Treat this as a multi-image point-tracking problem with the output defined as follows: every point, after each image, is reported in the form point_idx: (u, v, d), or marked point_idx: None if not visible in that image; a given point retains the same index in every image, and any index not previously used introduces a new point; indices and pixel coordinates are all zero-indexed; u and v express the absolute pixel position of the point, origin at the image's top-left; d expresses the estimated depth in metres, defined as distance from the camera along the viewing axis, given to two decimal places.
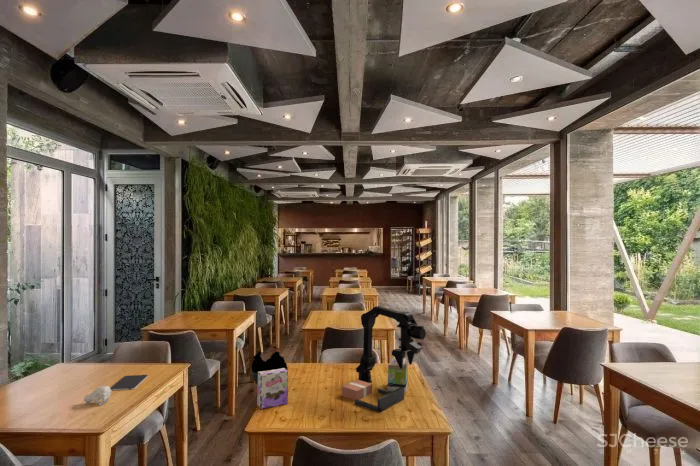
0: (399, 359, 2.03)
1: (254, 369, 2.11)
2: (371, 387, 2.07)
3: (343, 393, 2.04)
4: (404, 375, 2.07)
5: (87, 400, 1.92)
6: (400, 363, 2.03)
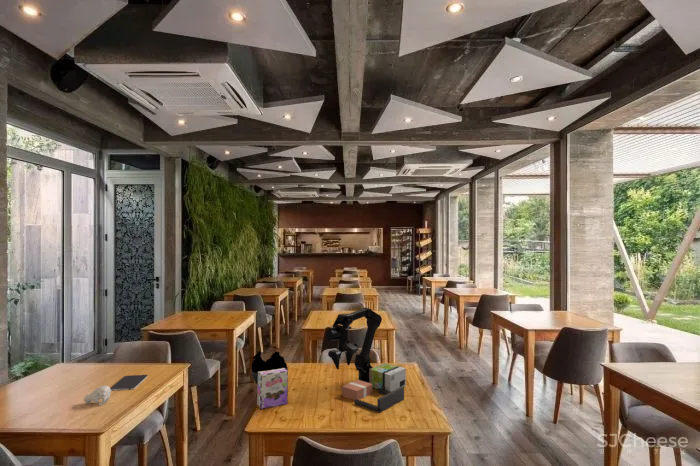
0: (335, 360, 2.09)
1: (254, 369, 2.11)
2: (371, 387, 2.07)
3: (343, 393, 2.04)
4: (375, 372, 2.14)
5: (87, 400, 1.92)
6: (336, 364, 2.09)
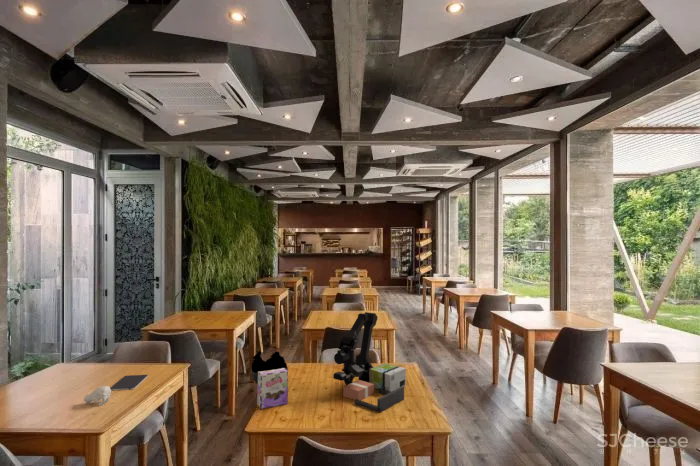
0: (346, 380, 2.09)
1: (254, 369, 2.11)
2: (372, 387, 2.07)
3: (344, 393, 2.03)
4: (375, 372, 2.14)
5: (87, 400, 1.92)
6: (347, 384, 2.09)
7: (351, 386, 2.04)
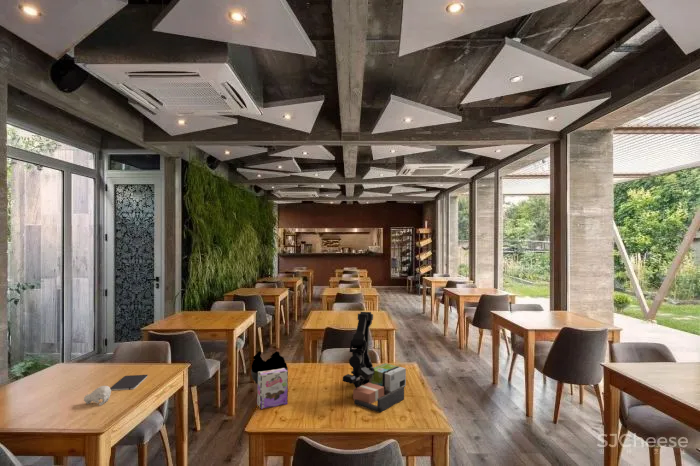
0: (356, 383, 2.05)
1: (254, 369, 2.11)
2: (383, 390, 2.03)
3: (354, 396, 1.99)
4: (375, 372, 2.14)
5: (87, 400, 1.92)
6: (357, 387, 2.05)
7: (361, 389, 2.00)
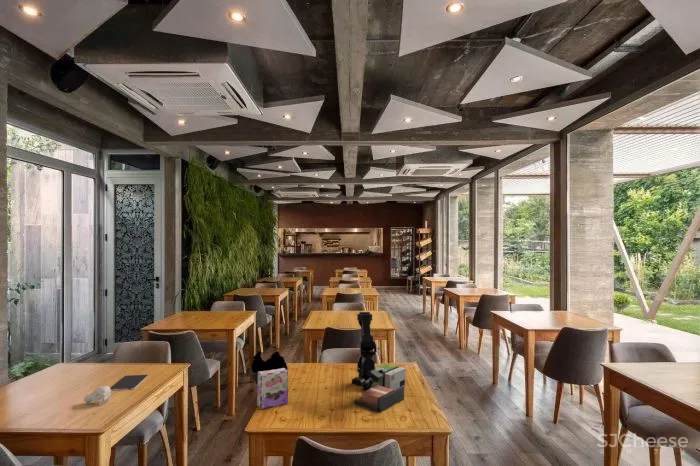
0: (365, 385, 2.01)
1: (254, 369, 2.11)
2: None
3: (363, 399, 1.95)
4: None
5: (87, 400, 1.92)
6: (366, 389, 2.01)
7: (370, 392, 1.96)
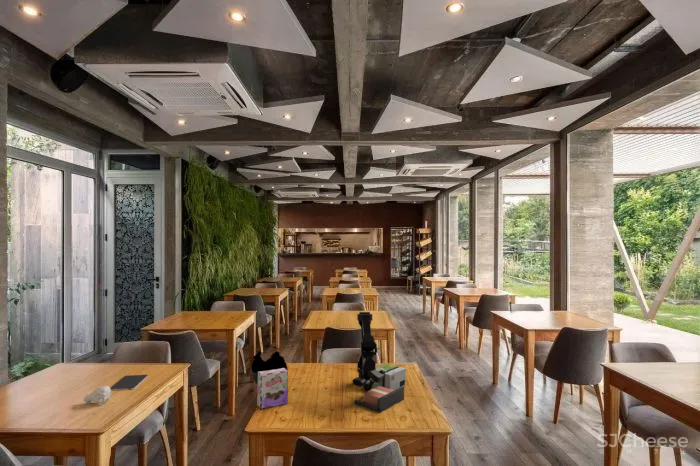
0: (365, 386, 2.01)
1: (254, 369, 2.11)
2: None
3: (365, 400, 1.95)
4: None
5: (87, 400, 1.92)
6: (366, 390, 2.01)
7: (372, 393, 1.95)
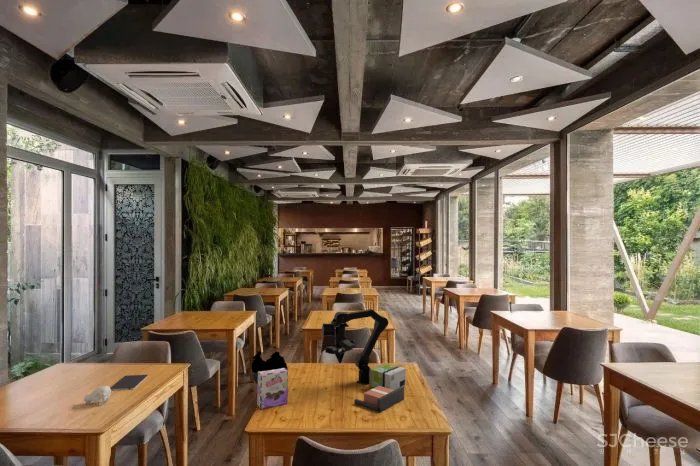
0: (338, 354, 2.20)
1: (254, 369, 2.11)
2: None
3: (365, 400, 1.95)
4: (375, 372, 2.14)
5: (87, 400, 1.92)
6: (339, 358, 2.20)
7: (372, 393, 1.95)
